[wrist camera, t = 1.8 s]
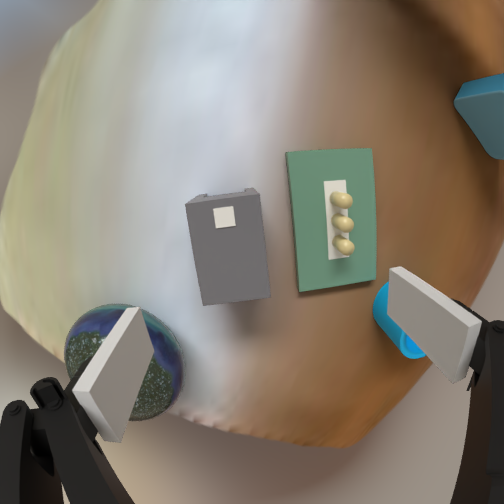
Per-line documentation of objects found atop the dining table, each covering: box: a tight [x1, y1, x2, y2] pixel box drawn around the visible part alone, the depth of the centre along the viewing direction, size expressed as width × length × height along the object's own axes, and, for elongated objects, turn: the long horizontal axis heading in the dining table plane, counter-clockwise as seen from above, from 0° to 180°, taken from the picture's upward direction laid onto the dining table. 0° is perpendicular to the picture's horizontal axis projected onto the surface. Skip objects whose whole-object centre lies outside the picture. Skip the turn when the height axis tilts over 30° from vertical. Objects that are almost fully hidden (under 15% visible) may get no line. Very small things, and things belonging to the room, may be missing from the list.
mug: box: [373, 281, 426, 359], centre depth 33 cm, size 12×8×8 cm
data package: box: [454, 73, 504, 160], centre depth 24 cm, size 12×4×12 cm, turn 54°
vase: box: [64, 304, 185, 421], centre depth 30 cm, size 15×15×13 cm
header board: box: [285, 148, 376, 292], centre depth 31 cm, size 16×10×4 cm, turn 7°
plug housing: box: [185, 188, 271, 306], centre depth 28 cm, size 9×6×9 cm, turn 7°
